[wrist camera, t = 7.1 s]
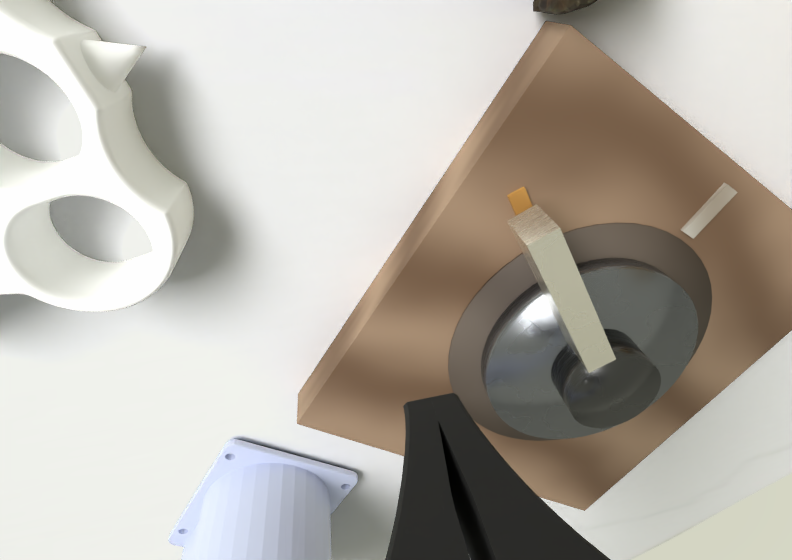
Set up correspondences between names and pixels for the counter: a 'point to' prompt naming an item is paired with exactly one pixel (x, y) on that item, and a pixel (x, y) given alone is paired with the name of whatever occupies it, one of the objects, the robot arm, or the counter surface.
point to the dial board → (587, 240)
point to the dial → (584, 339)
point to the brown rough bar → (560, 5)
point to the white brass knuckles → (84, 172)
